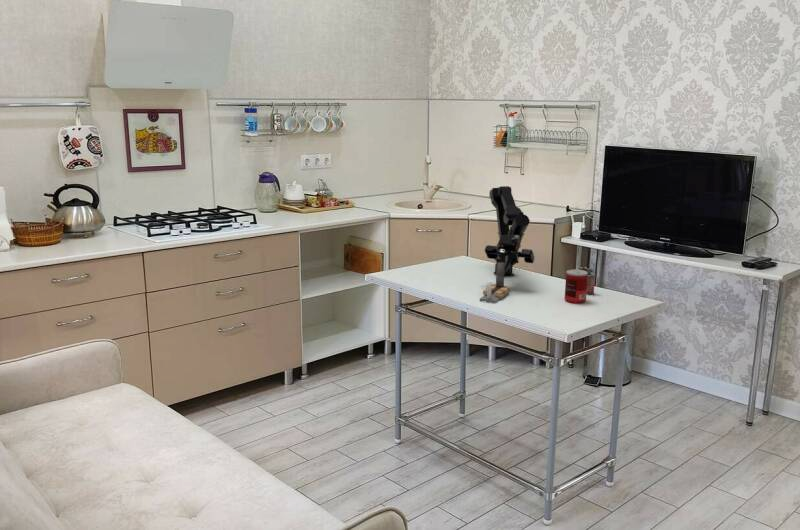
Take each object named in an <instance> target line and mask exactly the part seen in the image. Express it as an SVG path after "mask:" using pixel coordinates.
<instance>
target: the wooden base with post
mask: <svg viewBox="0 0 800 530" xmlns="http://www.w3.org/2000/svg"><path fill="white" fill-rule="evenodd" d="M504 270H505V263H501V262H499V263H497V270H496V274H495V284H492V290H491V294H492V293H493V292H495V291H496V292H495V296H496V297H502V296H503V295H505V294H506V293H507V292H509V293H510V291H511V286H506V285H504V284H505V276H504ZM484 295H487V287H486V288H484V289H483V290H482V296H484Z"/></svg>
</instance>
